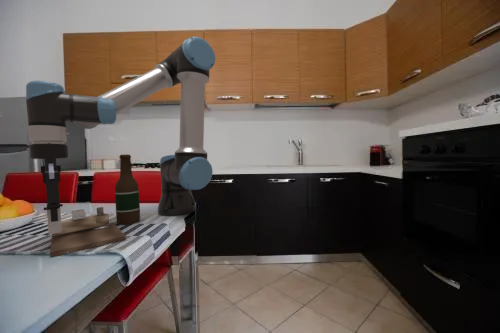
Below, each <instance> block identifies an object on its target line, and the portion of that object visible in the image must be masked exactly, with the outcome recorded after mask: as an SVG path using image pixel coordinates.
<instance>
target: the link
mask: <svg viewBox="0 0 500 333" xmlns="http://www.w3.org/2000/svg"><path fill="white" fill-rule="evenodd" d="M109 216H110V215H109V213H104V206H101V207H96V214H94V215H90V216H89V215H88V216H86V218H83V219H76V220H73V219H71V218H70V219H67V220H61V227H62V232H61V233H55V234H51V237H52V236H54V235H59V234H64V233H69V232H74V231H78V230H83V229H88V228H93V227H100V226H105V225H108V224H109V223H110V219H109V218H110V217H109Z"/></svg>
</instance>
